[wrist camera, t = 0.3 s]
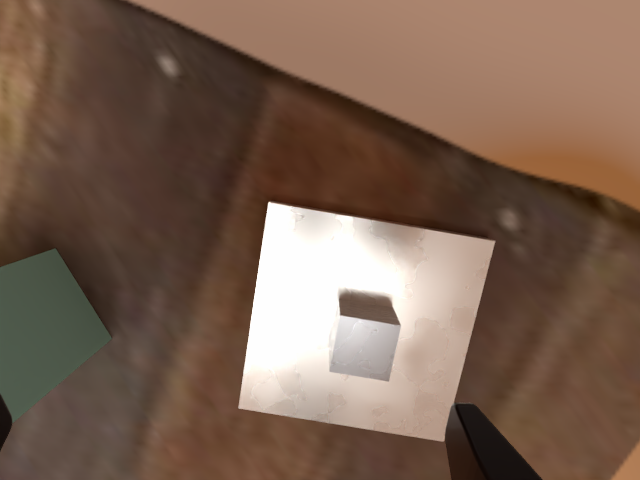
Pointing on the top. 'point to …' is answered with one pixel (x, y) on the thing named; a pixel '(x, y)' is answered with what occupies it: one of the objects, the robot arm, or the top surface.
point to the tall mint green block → (42, 329)
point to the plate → (365, 275)
